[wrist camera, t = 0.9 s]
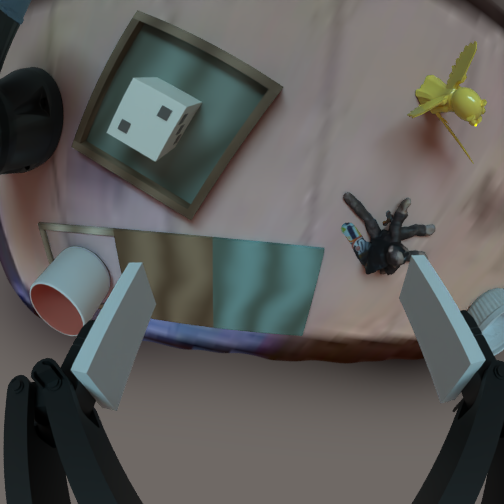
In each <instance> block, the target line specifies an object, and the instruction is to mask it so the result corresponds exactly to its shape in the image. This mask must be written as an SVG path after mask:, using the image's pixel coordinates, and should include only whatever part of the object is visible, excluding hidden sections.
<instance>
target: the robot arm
mask: <svg viewBox="0 0 504 504" xmlns="http://www.w3.org/2000/svg"><path fill="white" fill-rule="evenodd" d="M30 2H31V0H0V72H1V69H2V66H3V63H4V61H5V58H6V55H7V53H8V50H9V48H10V46H11V43H12V41H13V39H14V37H15V34H16V32H17V30H18V28H19V26H20V24H22V23H23V21H24V19H23V17H24V15H25V13H26V11H27V8H28V6H29V4H30ZM62 124H63V106H62V100H61V95H60V92H59V89H58V87H57V84H56V83H55V81H54V79H53V78H52V77H51V76H50V75H49V74H48V73H47V72H46V71H44V70H43V69H40V68H36V67H30V68H23V69H18V70H15V71H13V72H11V73H10V74H8V75H7V76H5V77H3V78H1V79H0V175H1V174H11V173H22V172H27V171H30V170H32V169H34V168H36V167H38V166H40V165H42V164H43V163H44V162H46V161H47V160H48V159H49V158H50V156H51V155H52V154H53V152H54V150H55V148H56V146H57V144H58V141H59V138H60V135H61V130H62ZM399 299H400V301H401V303H402V305H403V307H404V310H405V312H406V314H407V316H408V319H409V321H410V323H411V326H412V328H413V330H414V333H415V335H416V338H417V340H418V343H419V345H420V348H421V350H422V353H423V355H424V358H425V360H426V363H427V366H428V368H429V371H430V374H431V377H432V380H433V382H434V385H435V388H436V391H437V394H438V397H439V400H440V403H444V402H448V401H451V400H455V399H456V397H457V396H458V395H459V394H460V393H461V392H462V395H463V399H462V400H461V401H460V402H459V403H458V404H457V406H456V407H455V408H454V409H453V412H455V411H456V410H457V409H458V410H457V413H456V415H455V418H454V421H453V423H452V426H451V428H450V431H449V433H448V435H447V438H446V440H445V442H444V444H443V446H442V449H441V451H440V453H439V455H438V457H437V459H436V461H435V463H434V465H433V467H432V469H431V471H430V473H429V475H428V476H427V478H426V480H425V482H424V484H423V486H422V487H421V489H420V491H419V493H418V494H417V496H416V498H415V499H414V501H413V502H412V504H475V501H476V499H477V497H478V495H479V492H480V490H481V488H482V486H483V483H484V481H485V478H486V476H487V479H486V484H485V489H484V494H483V498H482V502H481V504H504V362H503V361H499V360H496V359H495V357H494V355H493V353H492V351H491V349H490V347H489V345H488V343H487V341H486V339H485V337H484V336H483V335H482V332H481V330H480V328H478V325H477V323H476V321H475V320H474V318H473V317H472V316H471V315H470V314H469V313H468V312H467V311H466V310H462V311H460V310H459V309H458V307H457V305H456V304H455V302H454V300H453V299H452V297H451V295H450V294H449V292H448V290H447V289H446V287H445V286H444V284H443V282H442V281H441V279H440V278H439V276H438V275H437V273H436V272H435V270H434V269H433V267H432V266H431V264H430V263H429V261H428V260H427V258H426V257H425V255H411V259H410V263H409V267H408V270H407V274H406V277H405V281H404V284H403V287H402V291H401V294H400V297H399ZM155 306H156V302H155V299H154V296H153V293H152V290H151V287H150V284H149V281H148V278H147V275H146V272H145V269H144V266H143V263H142V262H140V263H129V264H128V265H127V267H126V269H125V270H124V272H123V273H122V275H121V277H120V278H119V280H118V282H117V283H116V285H115V287H114V289H113V290H112V292H111V294H110V295H109V297H108V299H107V301H106V302H105V304H104V306H103V308H102V310H101V311H100V313H99V315H98V317H97V319H96V321H95V320H89V321H88V322H87V323H86V324H85V325H84V326H83V327H82V328H81V330H80V332H79V333H78V335H77V338H76V339H75V341H74V343H73V345H72V346H71V348H70V350H69V353H68V354H67V356H66V358H65V360H64V362H63V364H62V366H61V368H60V367H59V365H58V364H57V363H56V361H54V360H53V359H50V358H46V359H42V360H41V361H39V362H37V364H36V365H35V366H34V367H33V370H32V373H31V378H32V379H33V380H34V381H35V382H30V381H29V379H28V378H27V377H25V376H24V375H19V376H16V377H14V379H12V380H11V382H10V383H9V385H8V389H7V398H6V408H5V422H4V478H5V491H6V500H7V504H71V502H70V497H69V491H68V486H67V480H66V476H67V478H68V481H69V483H70V486H71V488H72V490H73V493H74V495H75V498H76V500H77V502H78V504H143V503H142V501H141V500H140V498H139V496H138V495H137V493H136V491H135V490H134V488H133V486H132V485H131V483H130V481H129V479H128V478H127V475H126V474H125V472H124V470H123V468H122V466H121V464H120V462H119V460H118V459H117V456H116V454H115V452H114V450H113V448H112V446H111V444H110V442H109V439H108V437H107V435H106V433H105V430H104V428H103V426H102V423H101V421H100V419H99V416H98V414H97V411H96V409H95V408H94V404H95V402H96V401H97V403H98V404H99V405H100V406H101V407H103V408H107V409H112V410H116V411H117V409H118V406H119V403H120V400H121V396H122V394H123V391H124V388H125V385H126V382H127V380H128V377H129V374H130V371H131V368H132V365H133V363H134V359H135V357H136V354H137V352H138V349H139V347H140V344H141V341H142V339H143V336H144V334H145V331H146V328H147V326H148V323H149V321H150V318H151V316H152V313H153V311H154V308H155Z"/></svg>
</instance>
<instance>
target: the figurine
mask: <svg viewBox="0 0 504 504" xmlns="http://www.w3.org/2000/svg"><path fill="white" fill-rule="evenodd" d="M476 50H477V42H476V41H475V42H474V44H472V43H470V44H469V46H467V45H466V46H465V48H464V51H463V52H461V53H460V57H459V58H457V59H456V65H454V66H452V72H453V73H452V72H451V73H450V75H449V77H450V78H449V79H448V81H447V83H448V84H447V85H446V84H445V83H444V82H442V81H441V80H440V79H439V78H436V77H435V76H434V75H428V76H427V77H426V79H425V81H424V84H422V85H421V88H420V89H417V90H416V95H415V96H416V97H417V98H418V100H419V102H420V104H421V105H419V106H420V107H417V108H415V109H414V110H413V111H411V113H409V114H407V115H408V116H409V117H411V116H412V118H414V117H417V116H420V115H422V114H424V113H426V112H427V111H429V110H430V112H431V113H432V114H436V115H437V117H438V118H439V120H441V121H442V122H443V124H444V125H445V126H446V128H447V129H448V131H449V132H450V133H451V134H452V136H453V137H454V138H455V140H456V141H457V142H458V144H459V145H460V146H461V148H462V149H463V151H464V152H465V153H466V155H467V156H468V157H469V159H470V160H471V158H470V156H469V155H468V153H467V152H466V150H465V149H464V147H463V146H462V144H461V143H460V141H459V140H458V138H457V137H456V136H455V134H454V133H453V131H452V130H451V129H450V127H449V126H448V125H447V124H446V123H448V122H447V121H446V120H445V119H444V118H442V117H441V115H440V114H439V113H444V112H455V114H456V115H457V116H458V117H459V118H460V119H462V120H464V121H468V122H469V124H470V125H472V126H477V124H478V123H480V122H481V120H482V116H481V114H484V113H485V108H484V106H485V105H486V104H487V101H486V100H485V99H483V100H481V98H480V97H479V95H478V94H477V93H476V92H475V91H473V90H472V89H470V88H466V87H460V86H459V84H460V83H463V82H464V81H465V79H466V78H467V76H466V72H467V70H468V68H469V66H470V64H471V61H472V59H473V57H474V55H475V53H476ZM445 122H446V123H445ZM448 124H449V123H448ZM471 161H472V160H471ZM472 163H473V162H472ZM473 164H474V163H473Z"/></svg>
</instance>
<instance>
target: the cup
mask: <svg viewBox="0 0 504 504" xmlns="http://www.w3.org/2000/svg"><path fill="white" fill-rule="evenodd" d="M109 288H110V277H109V273H108V271H107V268H106V266H105V265H104V263H103V262H102V261H101V259H100V258H99V257H98V256H97V255H95V254H94V253H93V252H91V251H90V250H88V249H86V248H83V247H78V246H73V247H68V248H66V249H64V250H63V251H62V252H61V253H60V254H59V255H58V256H57V257H56V259H55V260H54V261H53V262H52V263H51V264H50V265H49V266H48V267H47V268H46V269H45V271H44V272H43V273H42V274H41V275H40V276H39V277H38V279H37V280H36V281H35V282H34V283H33V284H32V286H31V288H30V298H31V302H32V304H33V306H34V308H35V310H36V311H37V313H38V314H39V315H40V317H41V318H42V319H43V320H44V321H45V322H46V323H47V324H48V325H50V326H51V327H52V328H54V329H55V330H57V331H59V332H61V333H63V334H66V335H69V336H77V335H78V333H79V332H80V330H81V328H82V327H83V326H84V325H85V324H86V323H87V322H88V321H89V320H91V319H92V317H93V316H94V314H95V312H96V311H97V309H98V307H99V306H100V304H101V303H102V301H103V299H104V298H105V296H106V295H107V293H108V291H109Z"/></svg>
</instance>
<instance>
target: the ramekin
mask: <svg viewBox="0 0 504 504" xmlns="http://www.w3.org/2000/svg"><path fill="white" fill-rule="evenodd" d="M467 312H468V313H469V314H470V315H471V316H472V317H473V318H474V320H475V321H476V323H477V325H478V328H480V330H481V332H482V335H483V336H484V337H485V339H486V341H487V343H488V345H489V347H490V349H491V351H492V353H493V355H496V354H498V353H500V352H501V351H502V350H504V289H502V288H495V289H491V290H489V291H487V292H485V293H484V294H482V295H481V296H480V297H478V298H477V299H476V300H475V301H474V302H473V304H472V305H471V306H470V308H469V309H468V311H467Z"/></svg>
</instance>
